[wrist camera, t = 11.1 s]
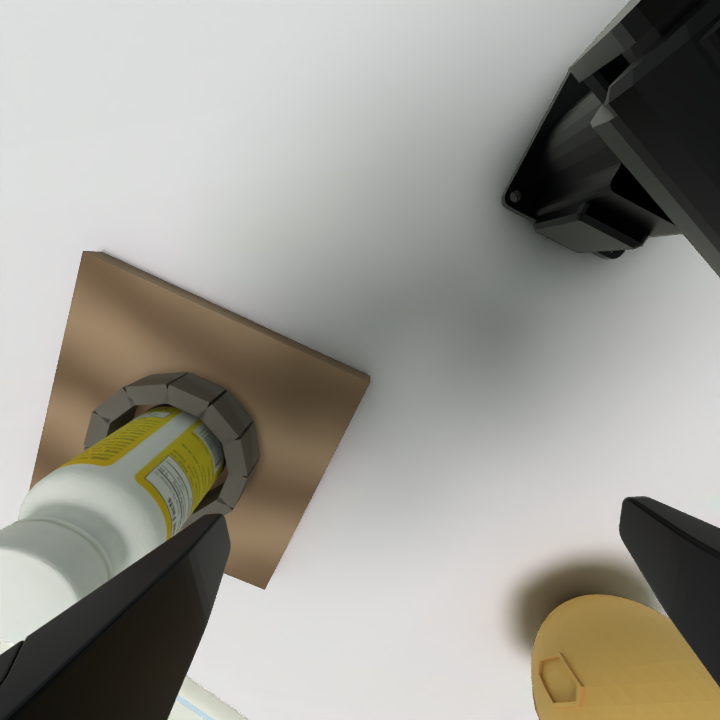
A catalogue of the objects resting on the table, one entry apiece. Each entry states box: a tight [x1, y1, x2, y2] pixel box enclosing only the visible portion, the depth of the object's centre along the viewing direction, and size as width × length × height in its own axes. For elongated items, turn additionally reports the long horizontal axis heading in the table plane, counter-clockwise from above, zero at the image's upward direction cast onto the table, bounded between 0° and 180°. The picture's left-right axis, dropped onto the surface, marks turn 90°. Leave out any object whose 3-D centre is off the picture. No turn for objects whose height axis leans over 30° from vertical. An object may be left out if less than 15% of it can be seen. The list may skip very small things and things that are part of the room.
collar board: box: [29, 251, 370, 590], centre depth 20 cm, size 16×16×3 cm
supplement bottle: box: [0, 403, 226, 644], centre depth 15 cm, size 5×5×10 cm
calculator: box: [0, 639, 248, 720], centre depth 28 cm, size 13×20×2 cm, turn 45°
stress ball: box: [531, 594, 720, 720], centre depth 18 cm, size 10×10×10 cm
